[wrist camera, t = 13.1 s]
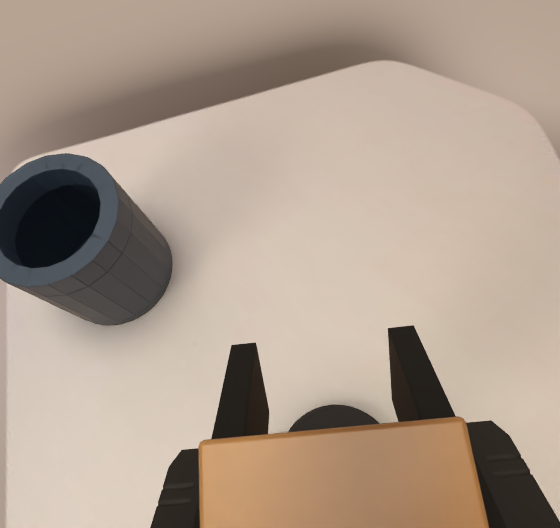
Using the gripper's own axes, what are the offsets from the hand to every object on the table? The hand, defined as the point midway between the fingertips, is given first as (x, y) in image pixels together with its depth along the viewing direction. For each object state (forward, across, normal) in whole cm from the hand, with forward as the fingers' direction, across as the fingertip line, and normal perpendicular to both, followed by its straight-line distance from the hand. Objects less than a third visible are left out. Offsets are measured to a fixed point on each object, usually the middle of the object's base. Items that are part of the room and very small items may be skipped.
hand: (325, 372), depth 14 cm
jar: (+22, -16, -5) cm, 28 cm away
